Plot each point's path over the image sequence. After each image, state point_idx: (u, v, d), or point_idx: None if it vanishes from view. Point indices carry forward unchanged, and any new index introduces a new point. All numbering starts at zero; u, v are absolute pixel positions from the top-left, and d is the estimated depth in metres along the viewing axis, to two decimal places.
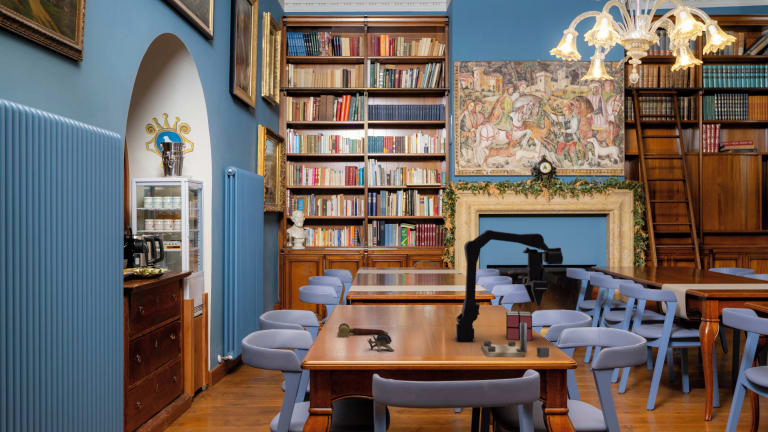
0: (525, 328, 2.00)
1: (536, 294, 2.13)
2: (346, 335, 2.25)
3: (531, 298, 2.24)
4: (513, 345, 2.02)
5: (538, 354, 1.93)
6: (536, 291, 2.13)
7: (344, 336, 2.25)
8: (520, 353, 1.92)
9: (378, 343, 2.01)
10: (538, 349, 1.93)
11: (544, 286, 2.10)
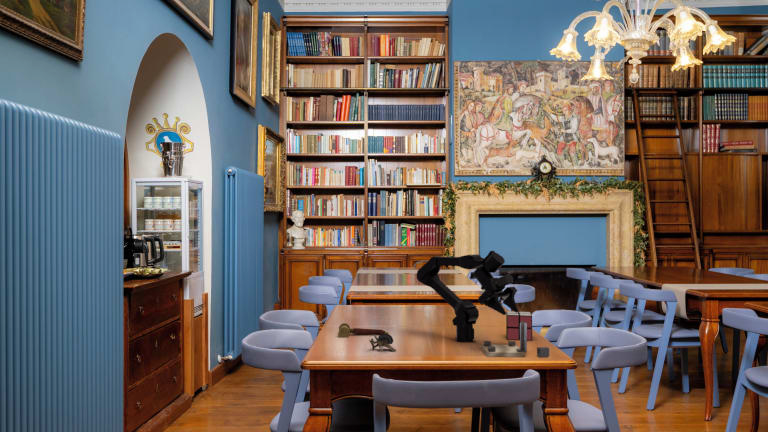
0: (525, 328, 2.00)
1: (493, 306, 2.04)
2: (346, 335, 2.25)
3: (513, 309, 2.08)
4: (513, 345, 2.02)
5: (538, 354, 1.93)
6: (491, 304, 2.04)
7: (344, 336, 2.25)
8: (520, 353, 1.92)
9: (380, 343, 2.01)
10: (538, 349, 1.93)
11: (486, 296, 2.02)
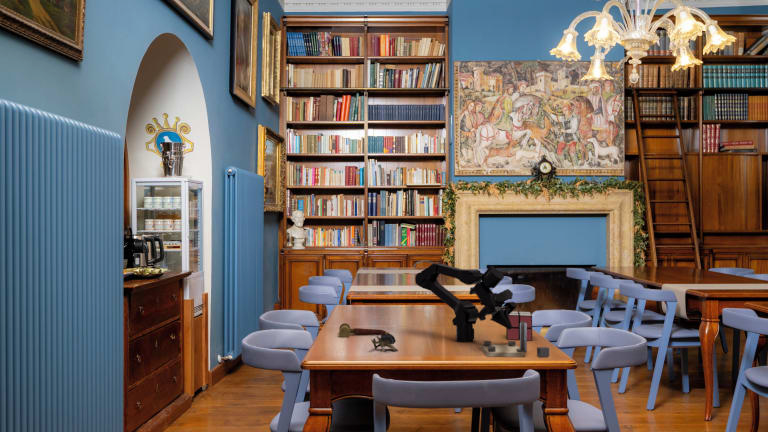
0: (525, 328, 2.00)
1: (499, 321, 2.06)
2: (347, 335, 2.25)
3: None
4: (513, 345, 2.02)
5: (538, 354, 1.93)
6: (497, 318, 2.07)
7: (345, 336, 2.25)
8: (520, 353, 1.92)
9: (382, 343, 2.01)
10: (538, 349, 1.93)
11: (485, 312, 2.01)
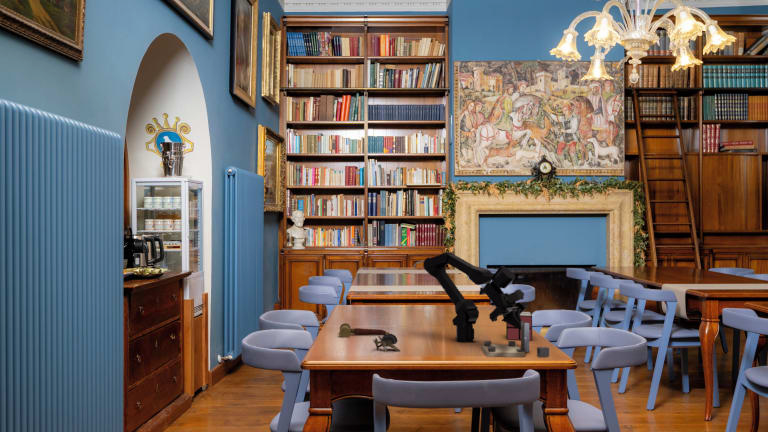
0: (527, 328, 1.99)
1: (511, 322, 2.03)
2: (347, 335, 2.25)
3: None
4: (513, 345, 2.02)
5: (538, 354, 1.93)
6: (509, 319, 2.04)
7: (345, 336, 2.25)
8: (520, 353, 1.92)
9: (384, 343, 2.01)
10: (538, 349, 1.93)
11: (497, 313, 1.98)
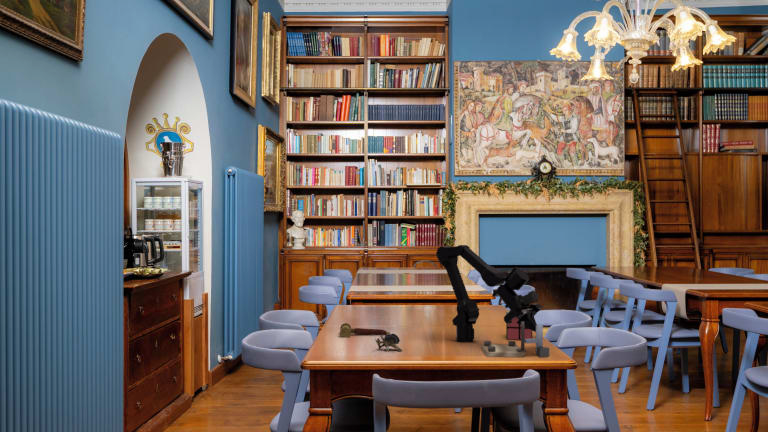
0: (538, 330, 1.95)
1: (526, 324, 1.99)
2: (348, 335, 2.25)
3: None
4: (513, 345, 2.02)
5: (538, 354, 1.93)
6: None
7: (346, 336, 2.25)
8: (520, 353, 1.92)
9: (386, 343, 2.01)
10: (538, 349, 1.93)
11: (512, 316, 1.94)
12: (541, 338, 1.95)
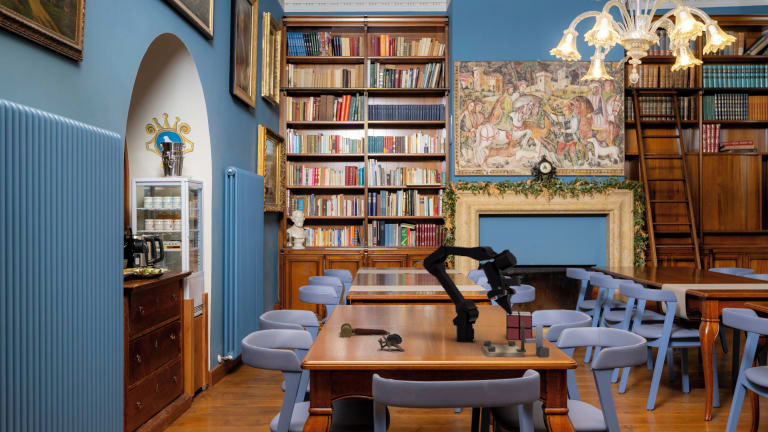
0: (538, 330, 1.95)
1: (502, 304, 2.07)
2: (348, 335, 2.25)
3: None
4: (513, 345, 2.02)
5: (538, 354, 1.93)
6: (500, 301, 2.07)
7: (346, 336, 2.25)
8: (520, 353, 1.92)
9: (388, 343, 2.01)
10: (538, 349, 1.93)
11: (497, 293, 2.00)
12: (541, 338, 1.95)
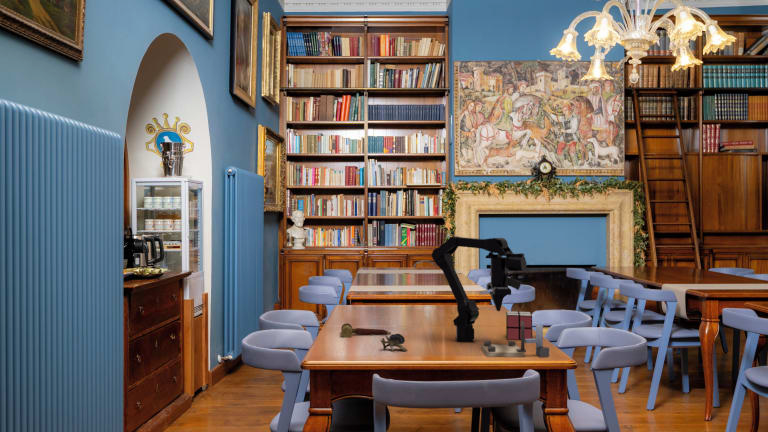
0: (538, 330, 1.95)
1: (496, 299, 2.10)
2: (349, 335, 2.25)
3: None
4: (513, 345, 2.02)
5: (538, 354, 1.93)
6: (496, 296, 2.10)
7: (347, 336, 2.25)
8: (520, 353, 1.92)
9: (391, 343, 2.01)
10: (538, 349, 1.93)
11: (506, 293, 2.03)
12: (541, 338, 1.95)
